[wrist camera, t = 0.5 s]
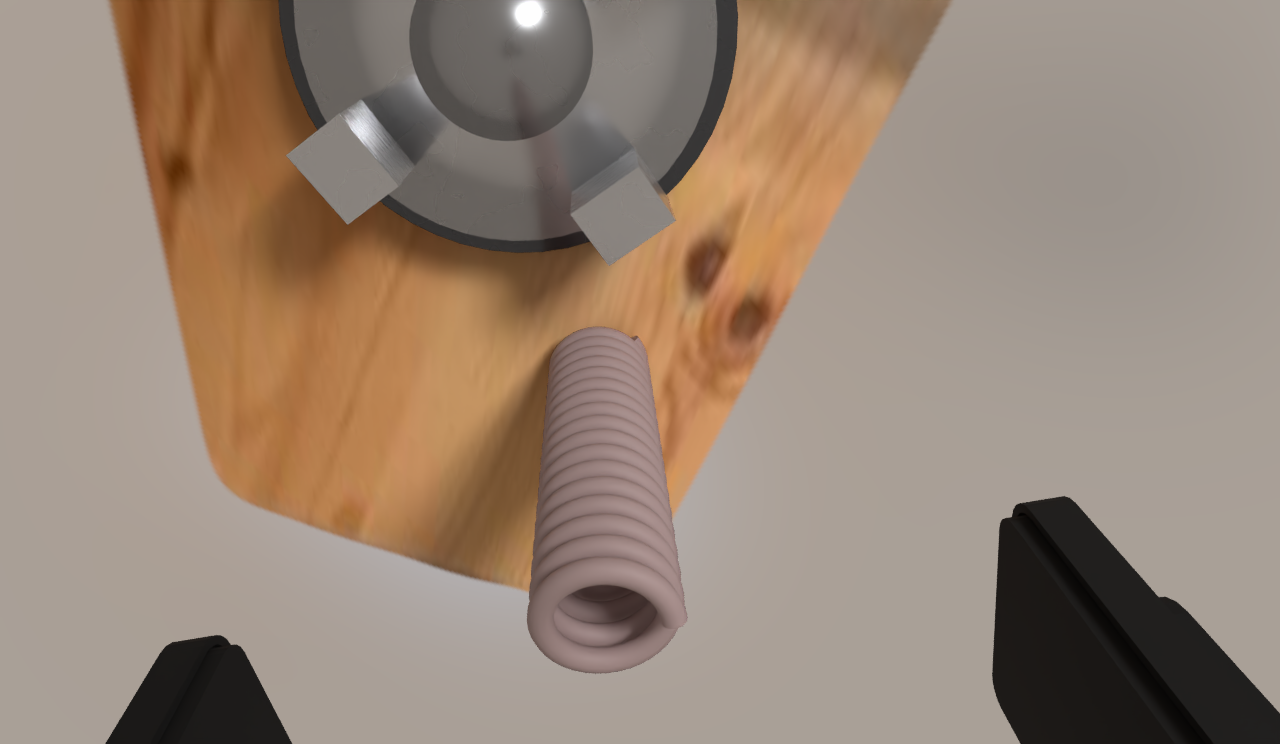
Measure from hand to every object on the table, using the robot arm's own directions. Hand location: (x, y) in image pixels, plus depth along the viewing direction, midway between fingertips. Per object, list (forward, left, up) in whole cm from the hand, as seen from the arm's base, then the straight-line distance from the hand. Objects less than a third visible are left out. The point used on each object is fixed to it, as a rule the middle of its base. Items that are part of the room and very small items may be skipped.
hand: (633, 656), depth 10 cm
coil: (+10, +1, -28) cm, 30 cm away
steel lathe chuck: (-4, -4, -26) cm, 27 cm away
